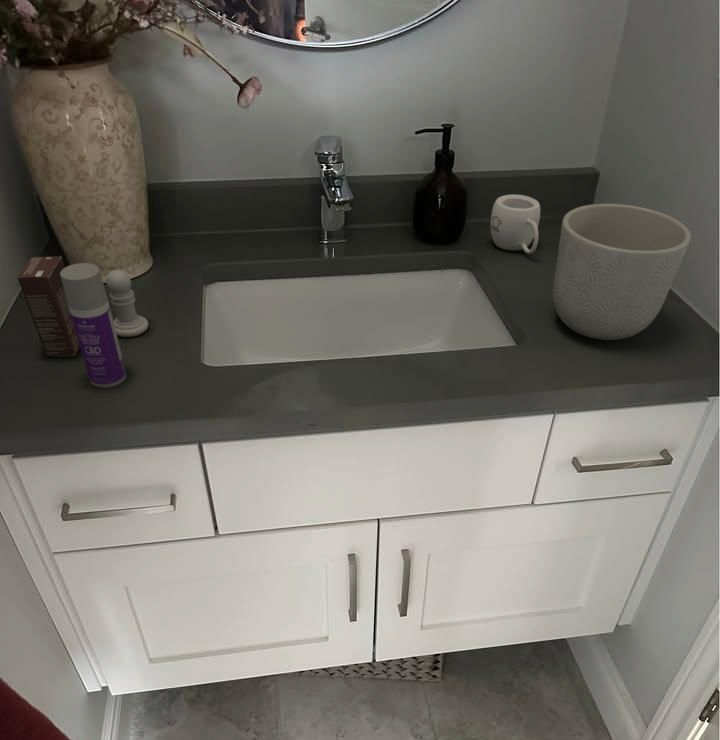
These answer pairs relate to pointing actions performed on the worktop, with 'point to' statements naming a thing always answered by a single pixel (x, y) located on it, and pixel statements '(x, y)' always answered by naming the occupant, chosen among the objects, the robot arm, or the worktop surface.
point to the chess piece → (124, 305)
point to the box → (49, 305)
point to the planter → (615, 268)
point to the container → (93, 324)
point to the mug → (515, 222)
